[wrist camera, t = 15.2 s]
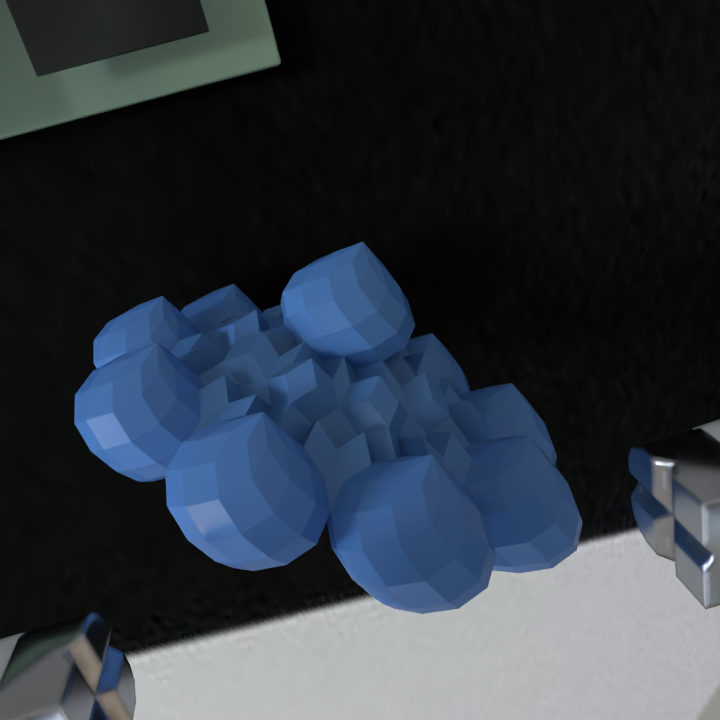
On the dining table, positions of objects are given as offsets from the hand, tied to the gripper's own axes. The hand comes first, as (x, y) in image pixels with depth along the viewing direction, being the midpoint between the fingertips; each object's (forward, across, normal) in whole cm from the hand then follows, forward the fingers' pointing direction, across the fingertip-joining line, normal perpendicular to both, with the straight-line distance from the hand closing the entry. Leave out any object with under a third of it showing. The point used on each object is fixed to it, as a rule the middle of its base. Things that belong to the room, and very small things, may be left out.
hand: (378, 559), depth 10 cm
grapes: (+13, 0, 0) cm, 13 cm away
